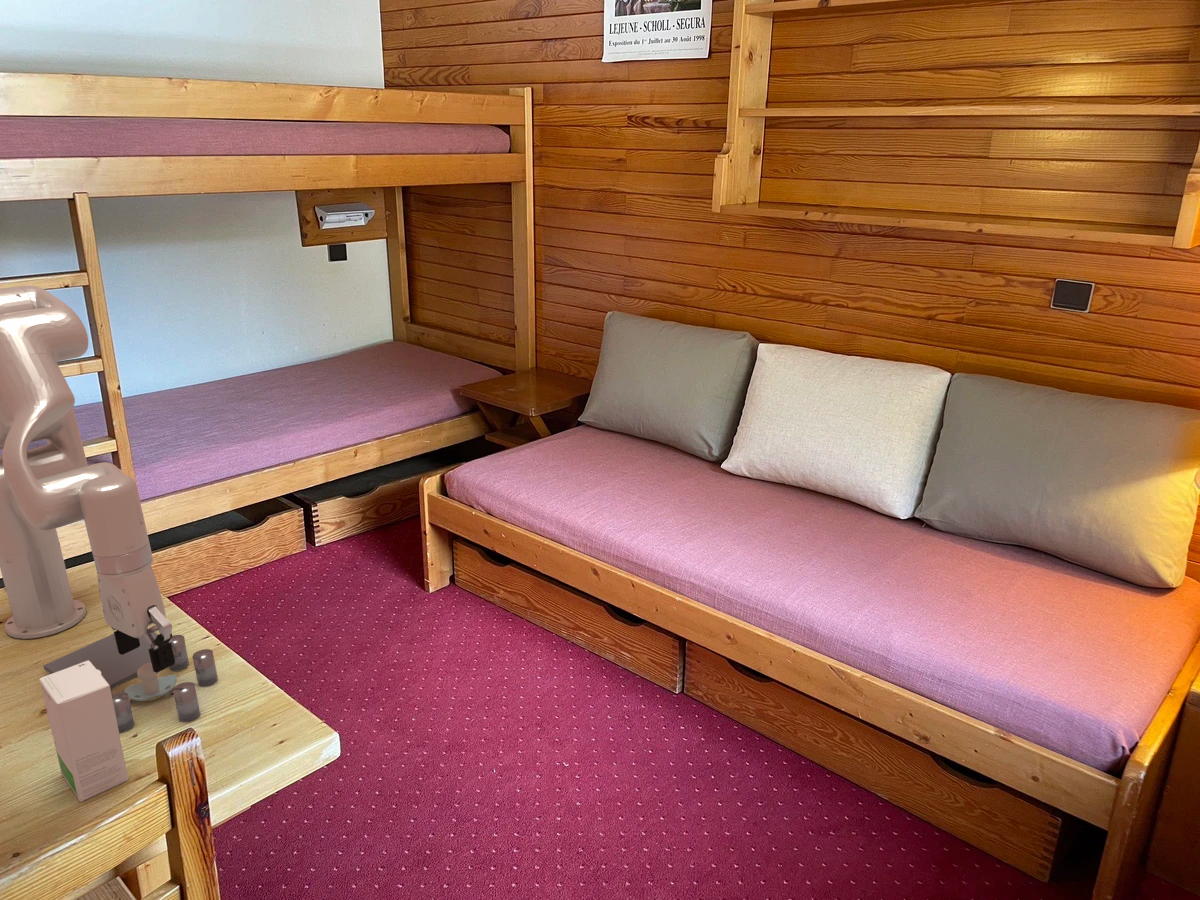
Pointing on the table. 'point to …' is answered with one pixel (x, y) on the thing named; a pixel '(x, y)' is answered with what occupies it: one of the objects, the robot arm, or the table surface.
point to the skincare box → (84, 729)
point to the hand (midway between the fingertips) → (146, 659)
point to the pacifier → (150, 684)
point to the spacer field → (182, 692)
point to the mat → (107, 660)
